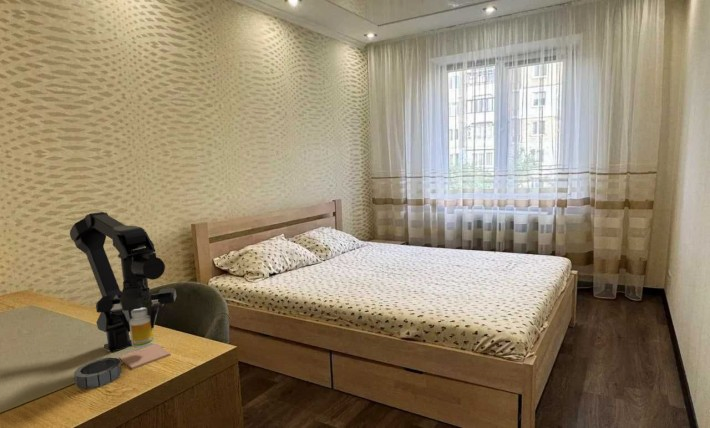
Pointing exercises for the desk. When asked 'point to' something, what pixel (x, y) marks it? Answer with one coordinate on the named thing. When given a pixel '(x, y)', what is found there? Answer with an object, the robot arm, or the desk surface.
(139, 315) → the supplement bottle
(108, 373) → the grey segmented ring
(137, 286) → the robot arm
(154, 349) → the terracotta pad
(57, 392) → the desk surface
